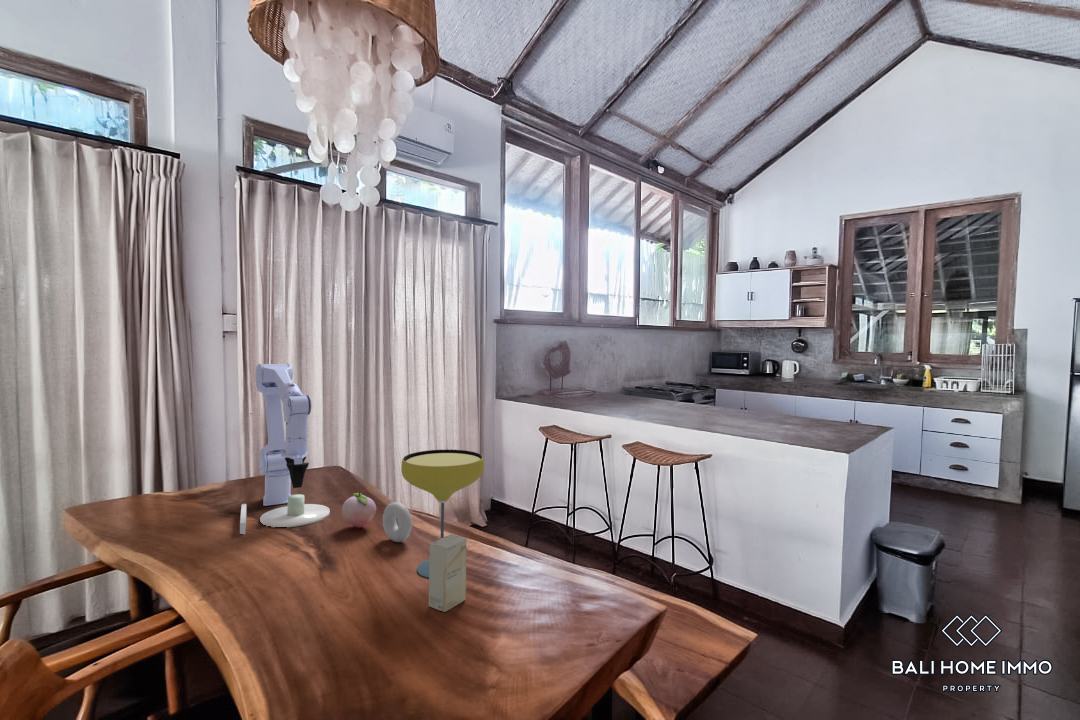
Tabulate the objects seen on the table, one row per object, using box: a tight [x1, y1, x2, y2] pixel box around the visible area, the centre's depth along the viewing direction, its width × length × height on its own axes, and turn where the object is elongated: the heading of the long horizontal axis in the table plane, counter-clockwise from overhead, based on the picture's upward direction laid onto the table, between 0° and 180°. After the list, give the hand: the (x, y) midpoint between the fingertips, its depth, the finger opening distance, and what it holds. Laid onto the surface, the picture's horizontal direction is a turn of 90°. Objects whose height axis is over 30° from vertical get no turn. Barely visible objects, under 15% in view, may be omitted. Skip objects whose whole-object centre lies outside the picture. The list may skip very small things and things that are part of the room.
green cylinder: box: [286, 493, 305, 516], centre depth 141 cm, size 4×4×5 cm
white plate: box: [259, 503, 331, 528], centre depth 141 cm, size 18×18×1 cm
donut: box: [382, 501, 413, 543], centre depth 124 cm, size 10×3×10 cm, turn 53°
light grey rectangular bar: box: [239, 503, 247, 535], centre depth 134 cm, size 18×1×3 cm, turn 30°
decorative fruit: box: [341, 491, 377, 529], centre depth 132 cm, size 9×8×10 cm
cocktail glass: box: [400, 449, 485, 579], centre depth 109 cm, size 18×18×25 cm
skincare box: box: [428, 533, 468, 613], centre depth 94 cm, size 6×4×12 cm
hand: (296, 484), depth 141 cm, fingers open, 7 cm apart
